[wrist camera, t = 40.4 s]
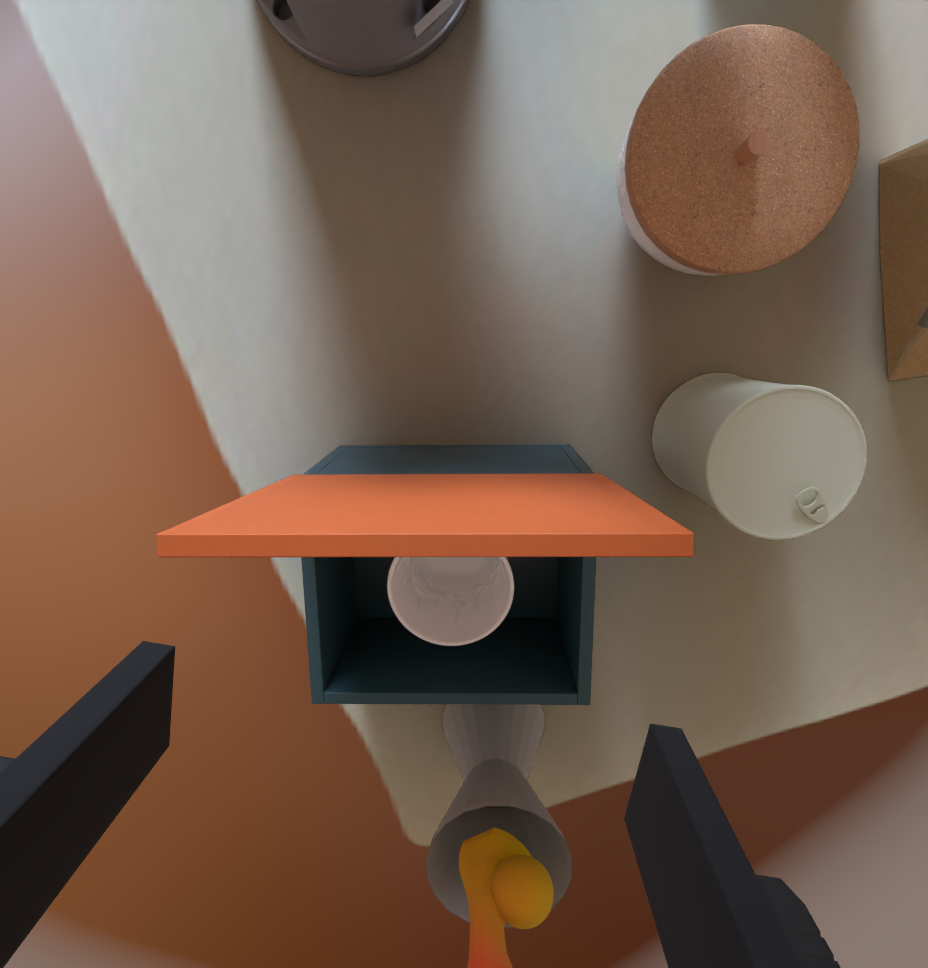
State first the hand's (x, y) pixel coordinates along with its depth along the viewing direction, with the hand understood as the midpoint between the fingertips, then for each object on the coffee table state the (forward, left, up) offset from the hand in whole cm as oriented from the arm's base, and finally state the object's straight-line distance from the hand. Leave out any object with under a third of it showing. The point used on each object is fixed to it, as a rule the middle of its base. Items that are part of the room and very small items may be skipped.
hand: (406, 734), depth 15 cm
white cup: (+6, 0, -33) cm, 34 cm away
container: (+6, 0, -34) cm, 34 cm away
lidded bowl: (-19, +16, -34) cm, 42 cm away
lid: (-2, 0, -14) cm, 14 cm away
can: (-2, +19, -34) cm, 39 cm away
